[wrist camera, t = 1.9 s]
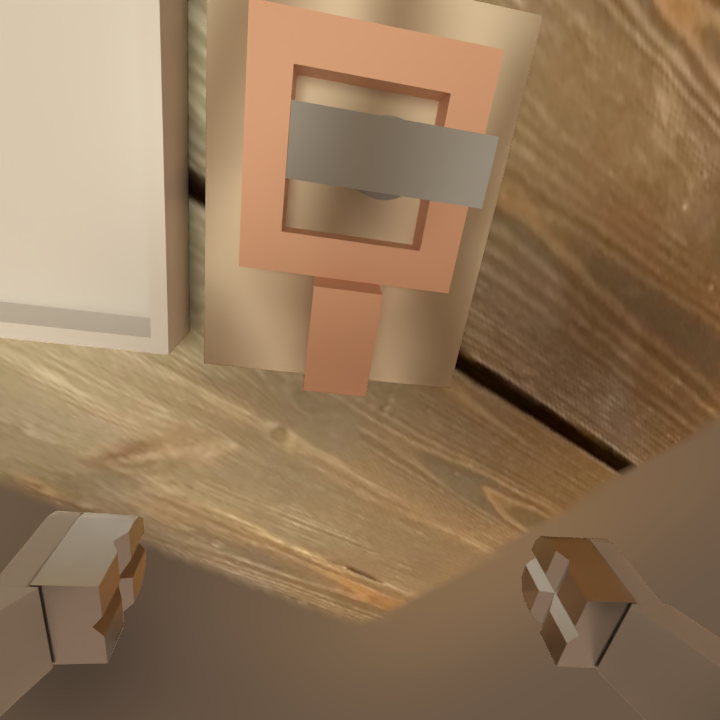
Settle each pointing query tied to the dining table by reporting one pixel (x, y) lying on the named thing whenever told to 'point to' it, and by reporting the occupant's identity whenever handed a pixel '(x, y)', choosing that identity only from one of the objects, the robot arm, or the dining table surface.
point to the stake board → (287, 297)
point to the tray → (94, 173)
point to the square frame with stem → (270, 186)
